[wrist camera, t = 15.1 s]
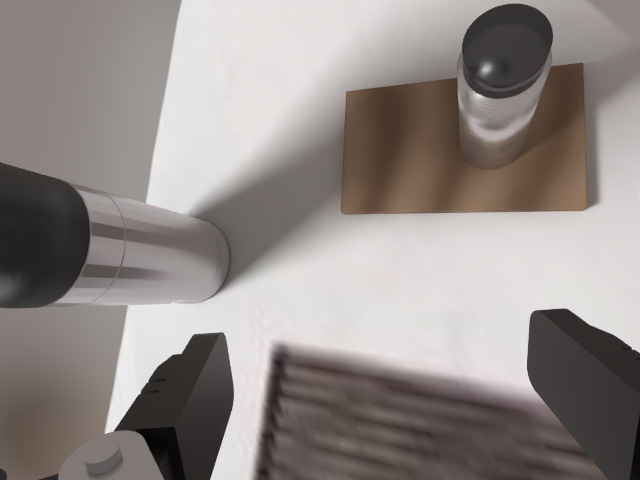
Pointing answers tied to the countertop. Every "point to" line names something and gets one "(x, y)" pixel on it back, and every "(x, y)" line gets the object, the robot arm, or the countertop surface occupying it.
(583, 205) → the walnut board
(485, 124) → the pepper grinder
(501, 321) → the countertop surface
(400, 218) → the countertop surface
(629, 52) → the countertop surface
